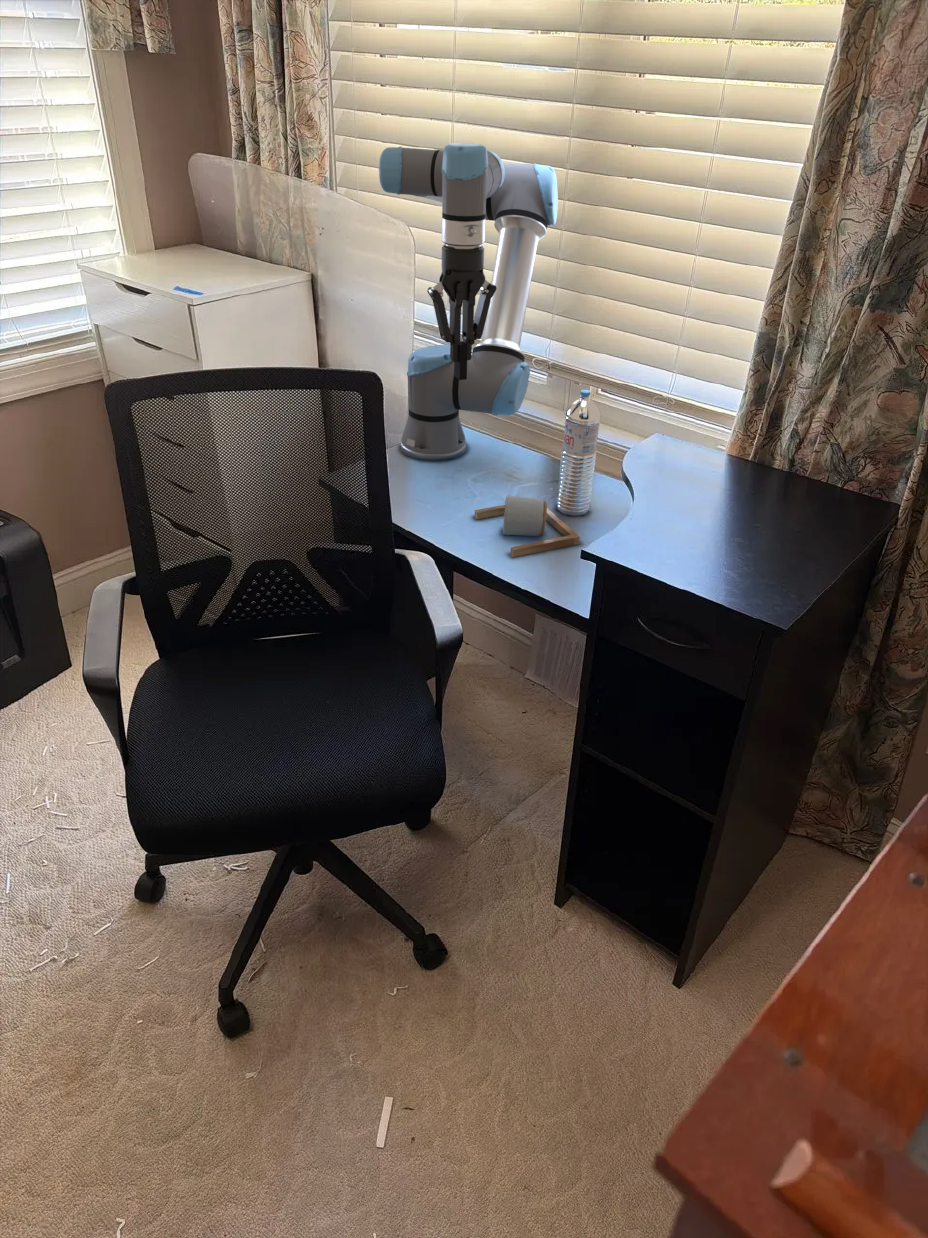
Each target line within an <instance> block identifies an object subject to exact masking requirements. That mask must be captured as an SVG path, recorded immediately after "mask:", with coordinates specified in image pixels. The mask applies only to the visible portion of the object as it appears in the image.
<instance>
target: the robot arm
mask: <svg viewBox="0 0 928 1238" xmlns="http://www.w3.org/2000/svg"><path fill="white" fill-rule="evenodd" d="M378 179H379V184H380V187H381V189H382V190H383V191H384V192H385V193H389V194H396V195H399V196H400V195H407V196H408V195H409V196H413V197H417V198H419V197H420V198H424V199H427V200H431V201H436V202H439V203H442V204H441V205H442V206H441V209H442V211H441V242H442V243H443V245H442V246H441V274H440V276H439V279H438V282H437V284H435V285H434V286H433V287H432V286H429V287H428V288H427V290H426V292H427V295H428V296H429V297H430V299H431V301H432V304H433V309H434V314H435V318H436V322H437V327H438V331H439V337H440V339H441V340H443V341H444V342H446V343H447V344H435V345H429V346H423V347H420V348H418V349H416V350H414V351H413V352H411V353H410V355H409V357H408V359H407V371H406V377H407V412H408V414H407V420H406V423H405V426H404V429H403V432H402V435H401V439H400V449H401V451H402V453H404V454H405V455H406V456H408V457H410V458H413V459H415V460H416V459H417V460H421V461H431V462H437V461H439V462H441V461H449V460H452V459H456V458H458V457H460V456H462V455H463V454H464V453H465V452H466V450H467V440H466V435H465V432H464V429H463V426H462V423H461V420H460V411H466V412H473V413H481V414H489V415H493V416H512V415H515V414H516V413H518V411H519V410H520V408H521V407H522V405H523V402H524V400H525V397H526V394H527V390H528V386H529V381H530V380H529V379H530V376H531V368H530V364H529V363H527V362H526V361H525V360H526V359H525V358H526V355H525V353H524V352H523V351H522V350H521V342H522V335H523V329H524V325H525V318H526V312H527V307H528V306H527V305H528V302H529V301H528V300H529V295H530V288H531V283H532V277H533V271H534V265H535V260H536V254H537V248H538V243H539V241H540V240H541V239H543V238H544V237H545V236H546V234H547V231H548V226H549V227H552V226H555V225H556V223H557V220H558V209H559V208H558V207H559V194H558V193H559V191H558V190H559V189H558V179H557V174H556V171H555V169H554V168H553V167H552V166H551V165H547V164H545V165H544V164H537V163H519V162H518V163H517V162H504V161H502V158H501V157H500V156H499V154H497V153H496V152H494V151H492V150H488V149H487V147H486V146H485V145H483V144H480V143H473V142H454V143H447V144H446V145H445V146H444V147H443V149H429V148H414V147H413V148H412V147H403V146H397V147H396V146H395V147H390V146H389V147H385V148H384V149H383V151H382V152H381V154H380V157H379V161H378ZM486 221H494V223H493V225H494V228H495V230H496V232H497V233H498V241H497V247H496V253H495V258H494V264H493V270H492V275H491V280H490V281H491V282H489V281H487V280H486V275H485V272H484V267H485V247H484V246H483V244H484V243H485V242H486V241H485V240H486ZM444 292H445V293H446V296H448V304H449V320H448V315H447V310H446V306H445V301H444V299H443V297H444ZM479 292H480V293H479ZM478 293H479V296H478V301H477V304H476V296H477V295H478ZM475 306H476V309H475ZM461 339H462V340H461ZM477 340H480V341H479V342H478V343H477V344H475V343H476V341H477ZM473 345H474V346H473Z"/></svg>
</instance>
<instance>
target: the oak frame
mask: <svg viewBox="0 0 928 1238" xmlns="http://www.w3.org/2000/svg"><path fill="white" fill-rule="evenodd" d="M504 514H505V504H501V505H495V506H491V507H483V508H480V509H479V508H478V509H474V518H475V519H476V520H482V519H487V518H488V519H489V518H492V517H499V516H504ZM546 522H547V523H549V524H550V525H551V526H552V527H553V528H554V529H555V530H557V532H558V533H560V534H561V535H562V536H559V537H554V538H549V539H544V540H539V541H535V542H534V541H533V542H529V543H525V544H519V545H514V546H510V550H509V551H510V552H509V555H510V556H511V557H512V558H516V557H521V556H527V555H531V554H536V553H540V552H546V551H551V550H555V549H560V548H565V547H570V546H574V545H575V546H576V545H579V544H580V535H579V534H577V533H576V532H575V531H574V530H573V529H572V528H571V527H570V526H568V524H566V523H565V522H564V521H563V520H561V519H560V517H558V516H557V515H556V514H555V513H554V512H553V511H551V509H549V508H548V507H547V515H546Z"/></svg>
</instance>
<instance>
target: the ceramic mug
mask: <svg viewBox="0 0 928 1238" xmlns="http://www.w3.org/2000/svg"><path fill="white" fill-rule="evenodd" d="M504 505H505V514H504V515H503V525H502V534H503V535H506V536H507V535H508V536H527V537H542V536H543V534H545V531H546V525H547V520H546V515H547V508H548V502H547V501H546V500H544V499H541V498H537V497H527V496H521V495H514V494H513V495H512V494H506V496H505V504H504Z"/></svg>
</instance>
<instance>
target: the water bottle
mask: <svg viewBox="0 0 928 1238" xmlns="http://www.w3.org/2000/svg"><path fill="white" fill-rule="evenodd" d="M579 394H580V395H579V398H578V399H576V400H574V401H573V402H571V403H570V404H569V406H568V407H567V408H566V410H565V415H564V431H563V440H562V443H563V444H562V448H561V454H560V465H559V477H558V487H557V497H556V498H557V499H556V508H557V510H558V511H559V512H560V513H561V514H564V515H566V516H571V517H579V516H583V515H586V514H587V513H588V512H589V511H590V507H591V501H592V493H593V484H594V482H593V481H594V476H595V466H596V460H597V445H598V438H599V431H600V429H599V428H600V422H601V420H602V419H601V418H602V412H601V410H600V408H599V407H598V405H597V404H596V403H595V402H594V401H593V400H592V399H591V398H590V396H591V391H590V390H589V389H581V390H580V393H579Z"/></svg>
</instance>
